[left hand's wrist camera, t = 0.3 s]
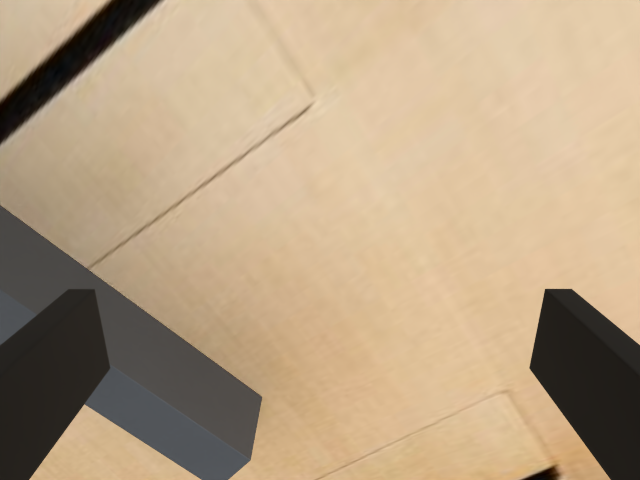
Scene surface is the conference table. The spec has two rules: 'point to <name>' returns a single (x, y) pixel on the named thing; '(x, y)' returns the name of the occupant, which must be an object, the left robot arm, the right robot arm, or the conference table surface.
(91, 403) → the post
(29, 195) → the conference table surface
